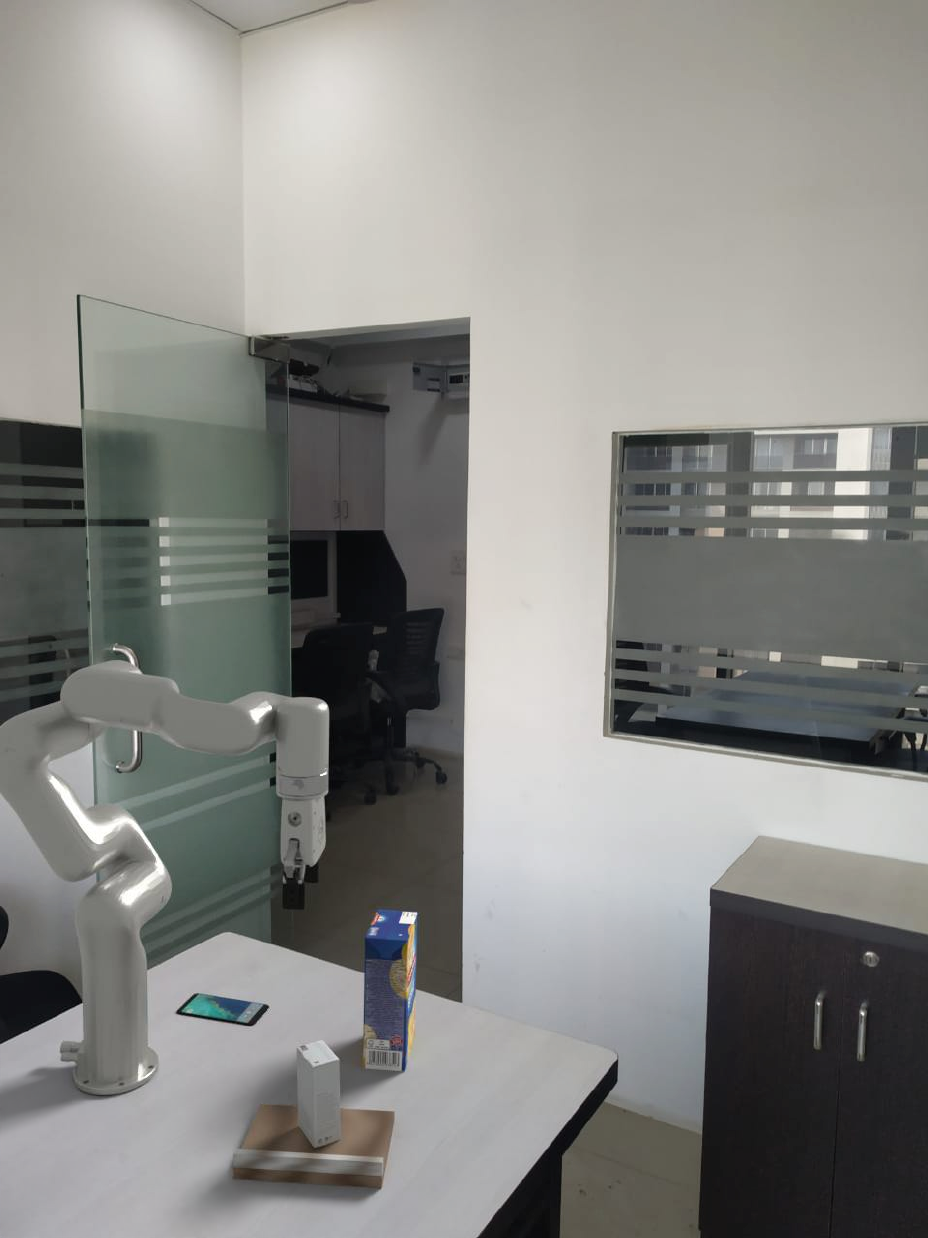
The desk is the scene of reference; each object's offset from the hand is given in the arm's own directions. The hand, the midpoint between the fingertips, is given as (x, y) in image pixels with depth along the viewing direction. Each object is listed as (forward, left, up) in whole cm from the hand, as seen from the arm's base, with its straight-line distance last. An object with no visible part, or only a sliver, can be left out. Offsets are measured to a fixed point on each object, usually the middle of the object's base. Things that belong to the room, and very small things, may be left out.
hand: (301, 895), depth 142 cm
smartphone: (-19, +24, -33) cm, 45 cm away
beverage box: (+12, +14, -32) cm, 37 cm away
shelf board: (+5, -11, -32) cm, 34 cm away
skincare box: (+5, -10, -31) cm, 33 cm away
